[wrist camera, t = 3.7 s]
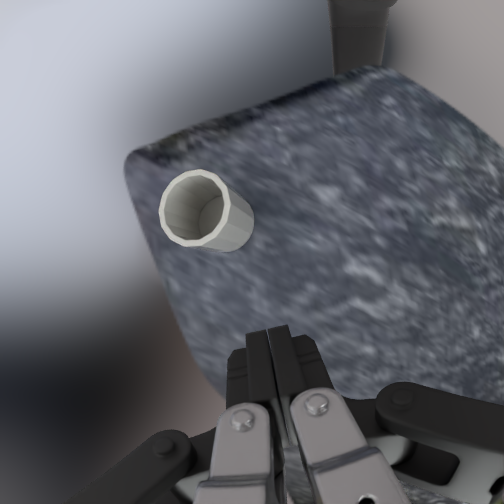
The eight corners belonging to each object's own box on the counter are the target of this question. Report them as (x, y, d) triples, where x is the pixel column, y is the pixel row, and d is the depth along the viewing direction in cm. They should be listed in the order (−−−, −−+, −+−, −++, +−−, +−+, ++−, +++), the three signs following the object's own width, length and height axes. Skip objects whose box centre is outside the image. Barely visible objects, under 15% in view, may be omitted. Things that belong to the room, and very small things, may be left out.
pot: (196, 195, 31) (160, 175, 24) (254, 190, 30) (230, 165, 23) (196, 253, 31) (157, 247, 24) (255, 251, 29) (231, 244, 22)
